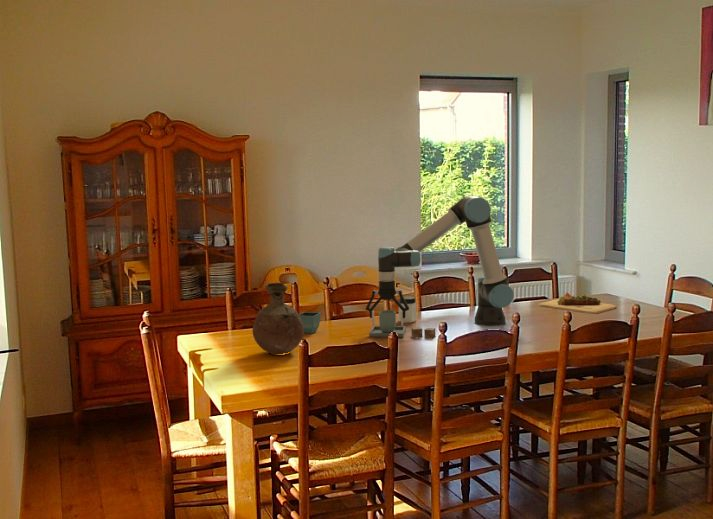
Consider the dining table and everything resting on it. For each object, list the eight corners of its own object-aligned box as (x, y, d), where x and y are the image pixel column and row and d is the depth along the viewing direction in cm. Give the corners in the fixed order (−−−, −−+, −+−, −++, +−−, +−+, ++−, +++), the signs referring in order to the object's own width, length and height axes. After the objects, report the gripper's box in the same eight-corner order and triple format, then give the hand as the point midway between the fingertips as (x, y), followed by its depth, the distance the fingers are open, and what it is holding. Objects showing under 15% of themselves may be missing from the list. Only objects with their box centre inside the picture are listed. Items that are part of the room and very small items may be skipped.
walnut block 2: (435, 336, 352) (435, 328, 352) (432, 338, 349) (432, 330, 348) (427, 336, 354) (427, 327, 354) (424, 338, 350) (424, 329, 350)
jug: (261, 362, 314) (258, 289, 310) (247, 350, 334) (244, 282, 330) (311, 355, 323) (309, 285, 319) (294, 345, 342) (292, 278, 338)
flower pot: (297, 333, 365) (296, 315, 364) (304, 329, 373) (304, 311, 372) (314, 334, 362) (313, 316, 361) (321, 330, 370) (320, 312, 369)
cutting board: (537, 307, 420) (537, 293, 420) (561, 301, 436) (561, 288, 435) (594, 315, 395) (594, 301, 394) (618, 308, 410) (618, 294, 409)
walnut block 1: (419, 335, 356) (419, 327, 355) (422, 337, 352) (422, 328, 351) (411, 336, 355) (411, 327, 354) (414, 338, 351) (413, 329, 350)
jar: (398, 322, 385) (398, 299, 383) (398, 319, 393) (398, 296, 391) (416, 322, 384) (416, 298, 383) (416, 319, 392) (416, 296, 391)
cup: (394, 334, 356) (394, 313, 354) (378, 334, 357) (377, 313, 356) (397, 330, 363) (396, 310, 362) (381, 330, 365) (380, 309, 363)
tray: (405, 330, 367) (405, 326, 366) (403, 337, 351) (403, 333, 351) (373, 330, 369) (373, 326, 369) (369, 337, 354) (369, 333, 353)
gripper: (414, 278, 359) (414, 323, 362) (361, 279, 363) (362, 323, 365) (413, 281, 352) (413, 326, 354) (359, 281, 355) (360, 326, 358)
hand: (387, 325), depth 360 cm, fingers open, 13 cm apart
